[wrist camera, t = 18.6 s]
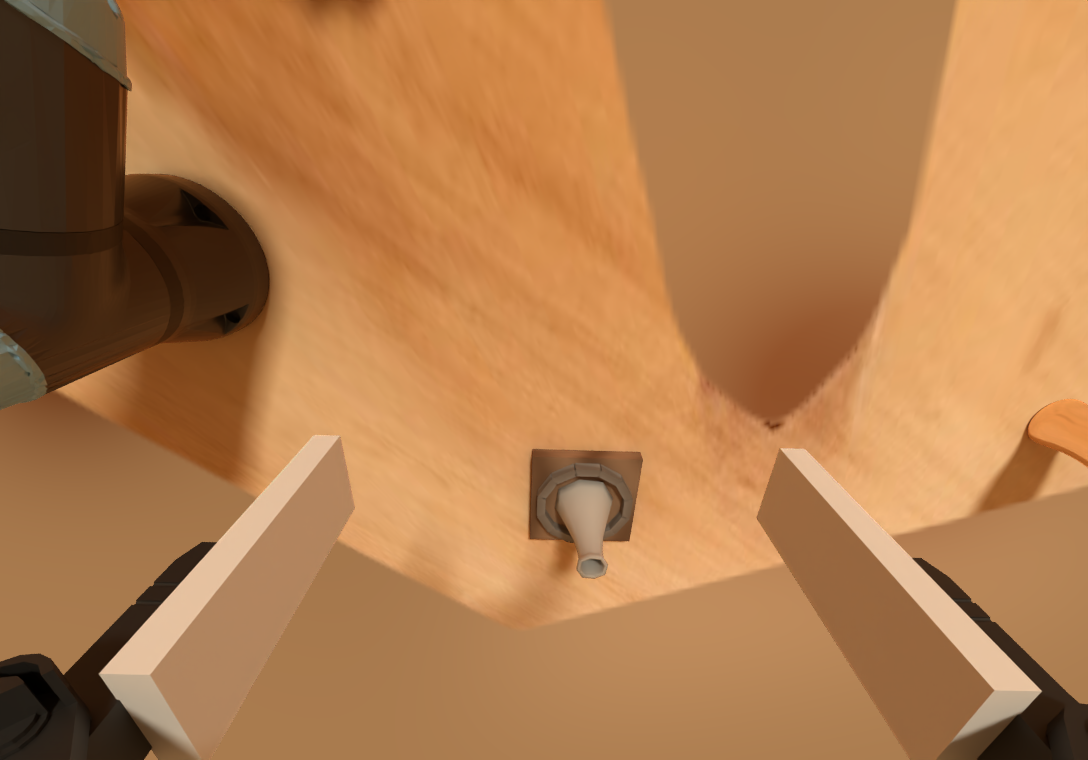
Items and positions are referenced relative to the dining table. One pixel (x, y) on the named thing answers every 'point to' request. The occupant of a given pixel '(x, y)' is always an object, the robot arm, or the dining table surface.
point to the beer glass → (1063, 428)
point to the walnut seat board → (575, 465)
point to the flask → (586, 522)
